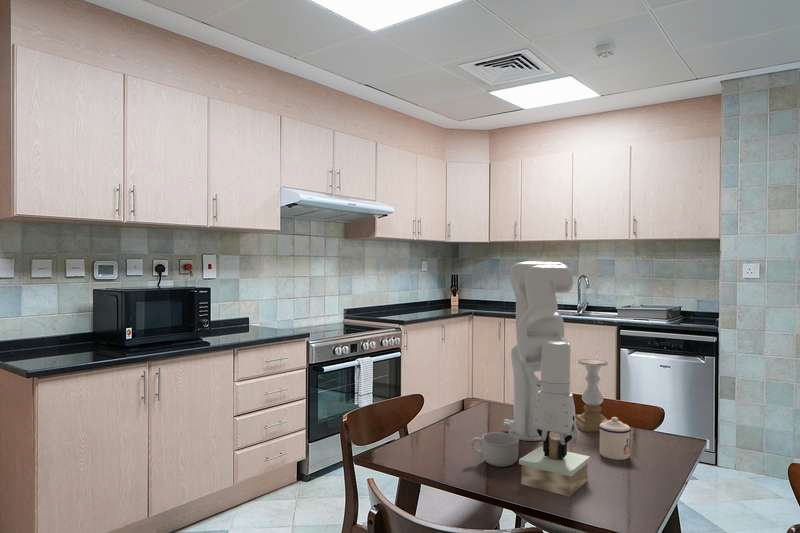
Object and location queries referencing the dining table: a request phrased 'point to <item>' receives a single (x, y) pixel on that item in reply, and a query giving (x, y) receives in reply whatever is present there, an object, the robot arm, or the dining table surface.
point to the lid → (555, 459)
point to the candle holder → (591, 398)
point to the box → (554, 480)
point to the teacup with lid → (614, 439)
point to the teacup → (498, 448)
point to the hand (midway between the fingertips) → (554, 455)
